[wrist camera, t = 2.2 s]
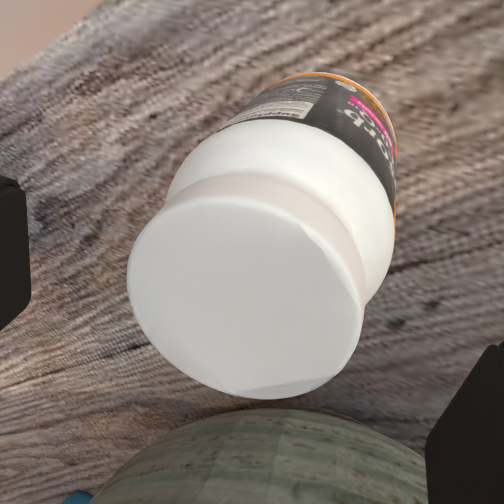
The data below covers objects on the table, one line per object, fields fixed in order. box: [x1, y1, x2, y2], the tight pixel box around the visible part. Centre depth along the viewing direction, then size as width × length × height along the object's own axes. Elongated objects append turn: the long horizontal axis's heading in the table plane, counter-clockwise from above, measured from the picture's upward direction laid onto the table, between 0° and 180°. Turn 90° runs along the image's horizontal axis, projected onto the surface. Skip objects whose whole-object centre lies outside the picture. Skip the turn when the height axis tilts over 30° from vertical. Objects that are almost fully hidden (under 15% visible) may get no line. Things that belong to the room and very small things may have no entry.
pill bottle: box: [126, 72, 397, 399], centre depth 13 cm, size 6×6×10 cm
